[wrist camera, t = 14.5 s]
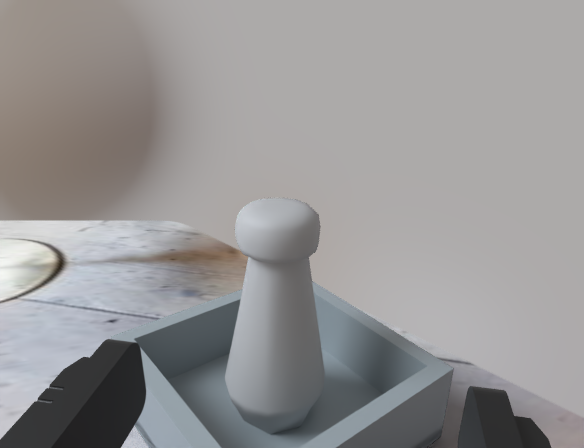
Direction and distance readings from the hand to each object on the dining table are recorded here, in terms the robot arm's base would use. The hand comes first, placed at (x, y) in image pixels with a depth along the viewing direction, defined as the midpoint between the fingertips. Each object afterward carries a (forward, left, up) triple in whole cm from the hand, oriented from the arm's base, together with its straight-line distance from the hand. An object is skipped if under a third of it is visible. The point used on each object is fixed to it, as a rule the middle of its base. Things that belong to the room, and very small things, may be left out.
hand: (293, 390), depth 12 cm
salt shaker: (-8, -11, -14) cm, 19 cm away
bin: (-8, -11, -14) cm, 20 cm away
